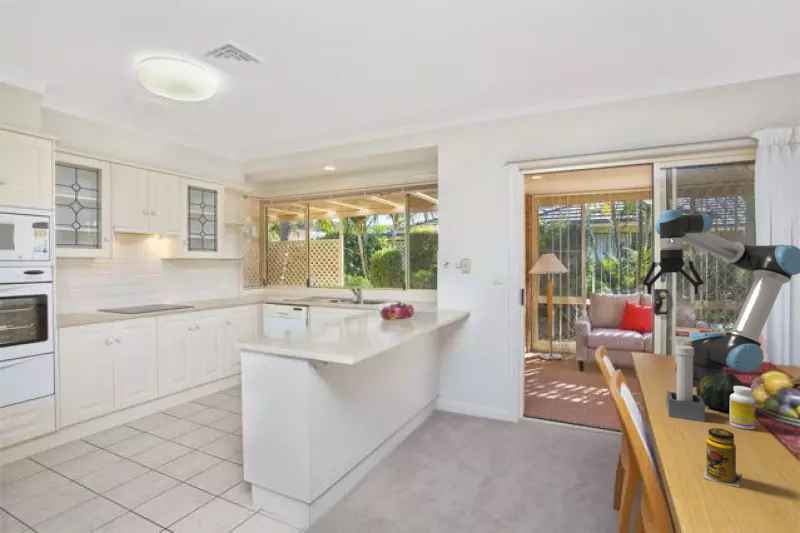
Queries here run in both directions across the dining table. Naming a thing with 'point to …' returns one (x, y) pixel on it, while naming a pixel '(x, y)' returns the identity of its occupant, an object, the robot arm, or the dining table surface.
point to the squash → (718, 390)
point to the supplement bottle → (742, 408)
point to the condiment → (721, 458)
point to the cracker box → (685, 337)
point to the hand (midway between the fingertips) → (672, 302)
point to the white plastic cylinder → (684, 372)
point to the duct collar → (685, 407)
